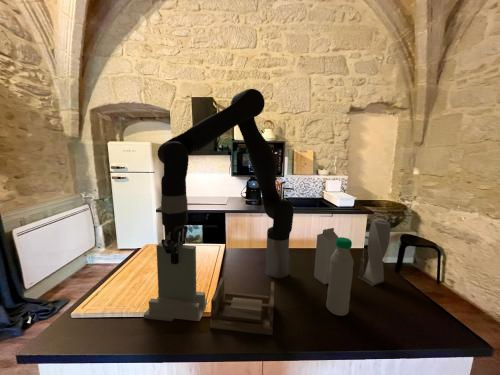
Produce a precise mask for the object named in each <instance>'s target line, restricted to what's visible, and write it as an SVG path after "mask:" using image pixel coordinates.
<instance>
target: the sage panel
mask: <svg viewBox="0 0 500 375" xmlns="http://www.w3.org/2000/svg"><path fill="white" fill-rule="evenodd" d="M155 247H156V265H157V266H156V267H157V296H158V295H159V298H166V299H174V300H183V301H192V302H194V301H195V299H196V292H197V246H196V245H187V244H183V245H179V246H178V259H179V263H178V264H171V254H166V252H165V250H164V248H163V245H162V243H161V242H160V243H158V244H157V245H156V246H155ZM174 248H175V246H174Z"/></svg>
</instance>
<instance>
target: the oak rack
mask: <svg viewBox="0 0 500 375" xmlns="http://www.w3.org/2000/svg"><path fill="white" fill-rule="evenodd" d="M233 297H234V298H244V299H254V300H262V309H263V325H260V324H251V323H242V322H234V321H225V320H222V313H223V310H224V307H225V305H227V306H231V303H232V300H233ZM274 299H275V281H271V282H270V296H269V295H262V294H252V293H251V294H250V293H241V292H232V291H225V277H220V279H219V282H218V284H217V286H216V288H215V290H214V293H213V296H212V298H211V300H210V307H211V308H210V311H211V312H210V315H211V316H210V317H211V318H210V321H209V322H210V323H209V324H210V325H209V326H210V329H218V330H226V331H235V332H243V333H251V334H252V333H253V334H258V335H259V334H260V335H268V336H269V335H270V336H273V334H274V333H273V328H274V326H273V325H274V307H275V306H274V303H275V300H274Z"/></svg>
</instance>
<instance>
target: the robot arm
mask: <svg viewBox="0 0 500 375" xmlns="http://www.w3.org/2000/svg"><path fill="white" fill-rule="evenodd" d="M264 108H265V97H264V95H263V94H262V92H261V91H259V90H258V89H256V88H248V89H245V90H243V91H240V92H239V93H237V94H235V95H234V96H233V97H232V99H231V101H230V105H229V106H227V107H225V108H223V109H222V110H220V111H218V112H216V113H215V114H212V115H210V116H208V117H206V118H204V119H203V120H200V121H199V122H198V123H196V124H195V125H193V126H191V127H189V128H188V129H186V130H185V131H184V132H182V133H180V134H178V135H176V136H174V137H172V138H170V139H169V140H167V141H165V142H164V143H162V144H161V145H160V146H159V147H158V150H157V157H158V159H159V162H160V163H162V164H163V176H162V177H161V180H160V181H161V182H160V185H161V188H160V189H161V200H160V202H161V203H160V204H161V205H160V206H161V208H160V209H161V224H162V225H163V226H164V227H165V228H166V232H165V239H161V241H160V243H162V245H163V248H164V250H165V252H166V254H171V264H178V263H179V259H178V246H179V245H186V241H187V240H186V239H187V233H188V229H189V228H188V227H189V226H187V224H188V222H189V215H188V214H189V210H188V206H189V205H188V196H187V182H186V181H187V180H186V179H187V175H188V168H189V162H190V160H189V155H190V154H192V153H195V152H199V151H200V150H202V149H204V148H206V147H207V146H209V145H210V144H211V143H213V142H215V141H216V140H217V139H218V138H220V137H221V136H223V135H224V134H225V133H227V132H228V131H230V130H231V129H233V128H235V127H236V126H237V127H238V129H239V132H240V134H241V136H242V139H243V141H244V146H245V148H246V150H247V153H248V158H249V161H250V164H251V167H252V170H253V172H254V176H255V179H256V181H257V185H258V187H259V190H260V195H261V199H262V203H263V208H264V209H263V210H264V212H265V214H266V215H267V217H269V218H270V219H272V221H273V222H272V226H271V227H269V228H268V229H267V232H266V255H265V256H266V258H265V259H266V260H265V261H266V262H265V275H266V276H269V277H270V278H273V279H282V278H283V279H284V278H287V277H288V276H289V275H290V266H291V265H290V264H291V262H290V261H291V253H290V250H289V248H290V235H291V232H292V230H293V222H294V206H293V204H292V202H290V201H289V200H286V199H284V198H282V197H281V196H280V194H279V191H278V188H277V184H276V183H277V182H276V180H277V173H278V165H277V161H276V158H275V154H274V150H273V148H272V146H271V145H270V144H269V142H268V141H267V139H265V137H264V136H263V135H262V133H261V132H260V130H259V128H258V125H257V123H256V119H255V118H256V117H258V116H259V115H260V114H261V113H262V112H263V111H264ZM174 246H175V248H174Z"/></svg>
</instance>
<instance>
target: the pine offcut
mask: <svg viewBox="0 0 500 375" xmlns="http://www.w3.org/2000/svg"><path fill="white" fill-rule="evenodd" d="M261 312H262V300H254V299H244V298H234V297H233V300H232V303H231V306H230V317H239V318H248V319H257V320H261Z"/></svg>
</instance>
